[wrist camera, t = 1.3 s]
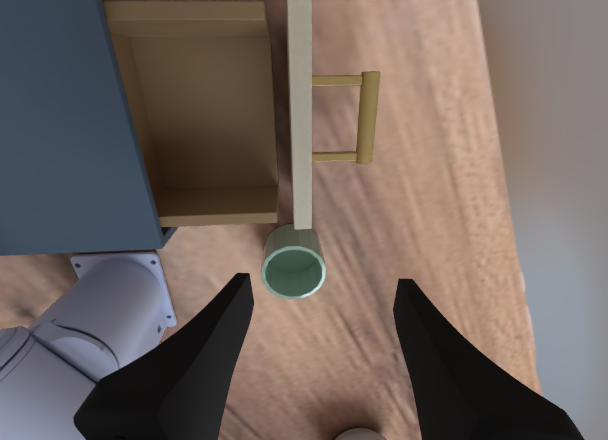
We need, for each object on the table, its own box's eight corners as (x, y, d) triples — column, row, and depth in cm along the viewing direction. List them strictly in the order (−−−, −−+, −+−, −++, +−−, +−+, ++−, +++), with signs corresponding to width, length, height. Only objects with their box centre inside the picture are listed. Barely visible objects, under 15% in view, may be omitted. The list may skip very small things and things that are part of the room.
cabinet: (161, 8, 19) (85, -39, 12) (197, 201, 25) (162, 249, 18) (-44, 8, 19) (-259, -42, 11) (45, 206, 25) (-57, 258, 17)
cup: (320, 270, 30) (325, 297, 26) (266, 272, 29) (263, 300, 26) (320, 222, 27) (326, 244, 23) (262, 224, 27) (258, 247, 23)
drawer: (372, 16, 20) (410, -14, 14) (359, 192, 25) (381, 226, 19) (118, 16, 19) (41, -15, 13) (163, 199, 24) (124, 236, 18)
